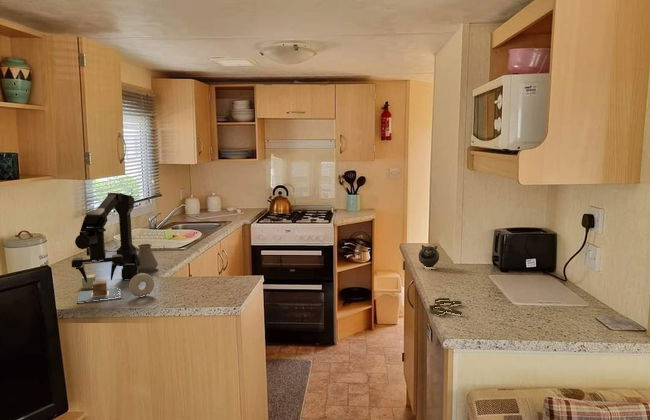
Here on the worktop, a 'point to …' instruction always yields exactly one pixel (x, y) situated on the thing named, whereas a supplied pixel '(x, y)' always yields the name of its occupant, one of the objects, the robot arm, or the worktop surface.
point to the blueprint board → (89, 296)
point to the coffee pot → (146, 258)
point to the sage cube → (88, 281)
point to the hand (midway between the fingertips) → (99, 281)
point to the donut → (139, 278)
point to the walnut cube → (99, 288)
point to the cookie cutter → (444, 308)
